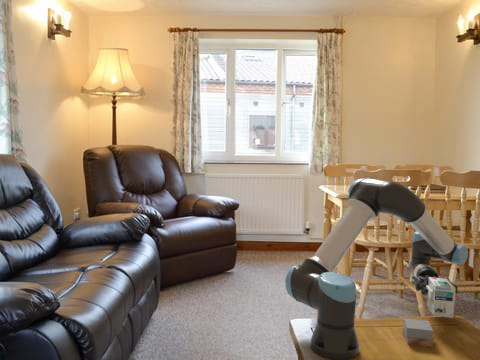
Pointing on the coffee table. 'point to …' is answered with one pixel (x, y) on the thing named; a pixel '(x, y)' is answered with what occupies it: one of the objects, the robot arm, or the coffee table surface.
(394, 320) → the coffee table surface
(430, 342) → the walnut base block
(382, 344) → the coffee table surface
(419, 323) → the grey square tile
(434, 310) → the light bulb box
